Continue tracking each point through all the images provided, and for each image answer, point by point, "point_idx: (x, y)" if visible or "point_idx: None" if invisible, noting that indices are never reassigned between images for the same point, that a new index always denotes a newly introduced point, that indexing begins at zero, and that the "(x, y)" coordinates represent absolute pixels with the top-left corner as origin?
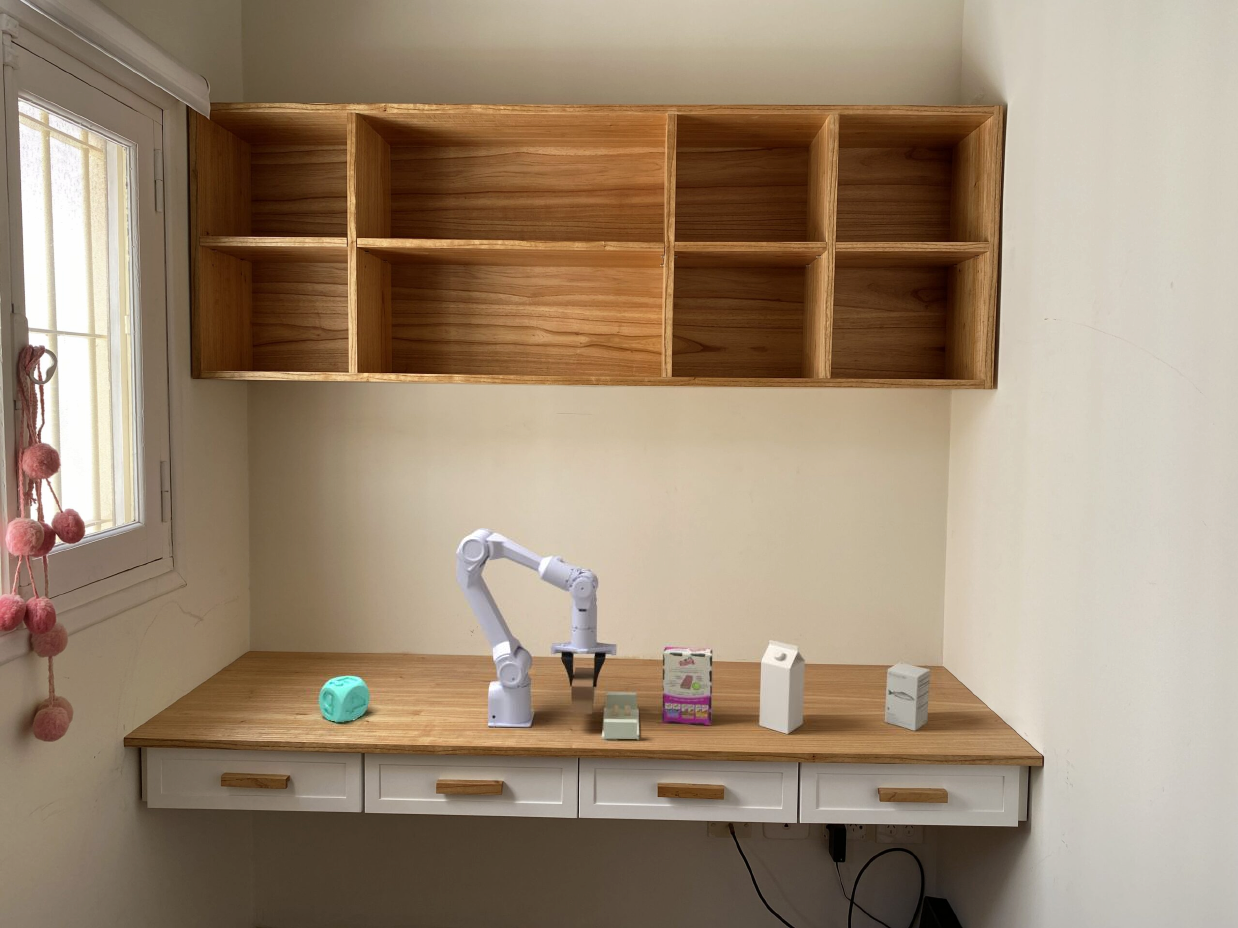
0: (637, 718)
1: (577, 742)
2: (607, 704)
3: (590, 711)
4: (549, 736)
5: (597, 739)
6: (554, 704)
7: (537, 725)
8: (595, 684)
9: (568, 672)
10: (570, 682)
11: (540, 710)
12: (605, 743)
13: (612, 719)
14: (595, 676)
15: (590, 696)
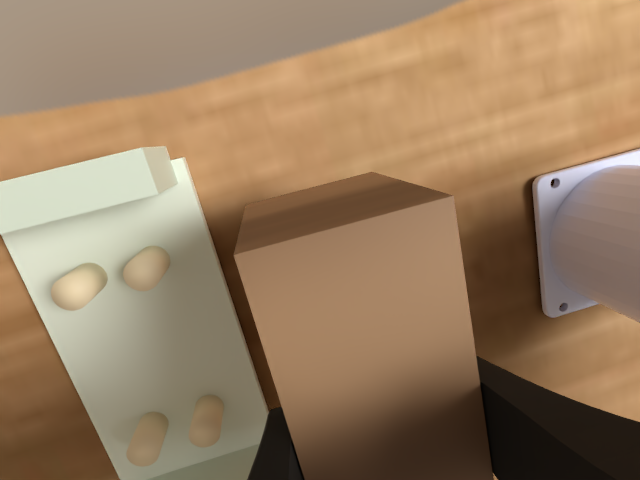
0: (90, 404)
1: (286, 86)
2: None
3: (254, 205)
4: (429, 116)
5: (204, 148)
6: None
7: (504, 212)
8: (272, 417)
9: (566, 404)
10: (481, 360)
11: (524, 351)
12: (148, 113)
13: (105, 200)
14: (271, 469)
15: (254, 226)
